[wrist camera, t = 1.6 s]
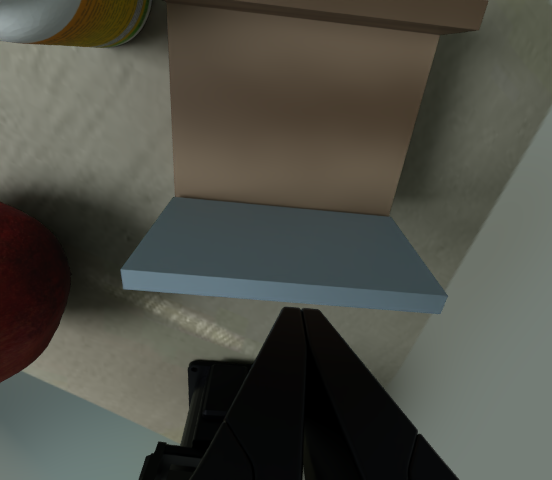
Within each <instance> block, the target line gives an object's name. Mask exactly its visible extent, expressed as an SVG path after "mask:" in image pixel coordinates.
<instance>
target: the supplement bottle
mask: <svg viewBox="0 0 552 480" xmlns="http://www.w3.org/2000/svg"><path fill="white" fill-rule="evenodd" d="M151 3H152V0H0V41H6V42H13V43H23V44H43V45H63V46H80V47H95V48H105V47H115V46H119V45H121V44H124V43H126V42H128V41H129V40H131V39H132V38H134V37H135V36H136V35H137V34H138V33H139V32H140V30H141V29H142V27H143V26H144V24H145V22H146V20H147V18H148V15H149V12H150V9H151Z"/></svg>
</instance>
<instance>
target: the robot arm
mask: <svg viewBox="0 0 552 480" xmlns="http://www.w3.org/2000/svg"><path fill="white" fill-rule="evenodd" d="M194 367H195V368H194ZM188 385H189V412H188V416H187V420H186V424H185V428H184V432H183V436H182V440H181V444H180V446H177V445H169V444H167V443H166V442H158V444H157V447H156V450H155V452H154V453H152V454H151V455H148V456H146V458H145V461H144V465H143V468H142V471H141V474H140V477H139V480H302V474H303V467H304V474H305V480H459V479H458V478H457V477H456V475H455V474H454V473H453V472H452V470H451V469H450V468H449V467H448V466H447V465H446V464H445V462H444V461H443V460H442V459H441V458H440V456H439V455H438V454H437V453H436V452H435V450H434V449H433V448H432V447H431V445H430V444H429V443H428V442H427V441H426V440H425V438H424V437H423V436H422V435H421V434H418V430H417V429H416V427H415V426H414V425H413V424H412V423H411V421H410V420H409V419H408V418H407V416H406V415H405V414H404V413H403V412H402V410H401V409H400V408H399V407H398V405H397V404H396V403H395V402H394V401H393V399H392V398H391V397H390V396H389V394H388V393H387V392H386V391H385V389H384V388H383V387H382V386H381V385H380V383H379V382H378V381H377V380H376V378H375V377H374V376H373V375H372V374H371V372H370V371H369V370H368V369H367V367H366V366H365V365H364V364H363V363H362V361H361V360H360V359H359V358H358V356H357V355H356V354H355V353H354V352H353V350H352V349H351V348H350V347H349V345H348V344H347V343H346V342H345V341H344V339H343V338H342V337H341V336H340V334H339V333H338V332H337V331H336V329H335V328H334V327H333V326H332V325H331V323H330V322H329V321H328V320H327V318H326V317H325V316H324V315H323V314H322V312H321V311H320V310H318V309H309V308H303V309H302V310H301V309H300V308H296V307H283V308H282V310H281V312H280V314H279V316H278V318H277V320H276V321H275V323H274V325H273V327H272V329H271V331H270V333H269V335H268V337H267V338H266V340H265V342H264V344H263V346H262V348H261V350H260V352H259V354H258V356H257V357H256V359H255V361H254V363H253V365H245V364H230V363H216V362H202V361H192V362H190V364H189V367H188ZM417 434H418V435H417Z"/></svg>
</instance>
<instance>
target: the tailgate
mask: <svg viewBox="0 0 552 480" xmlns="http://www.w3.org/2000/svg"><path fill="white" fill-rule="evenodd" d="M121 276H122V283H123V289H128V290H141V291H153V292H166V293H179V294H191V295H204V296H217V297H230V298H242V299H255V300H268V301H280V302H293V303H306V304H319V305H331V306H344V307H357V308H369V309H382V310H395V311H407V312H420V313H433V314H440V313H441V311H442V309H443V306H444V304H445V302H446V299H447V297H448V295H447V294H446V293H445V291H444V290H443V288H442V287H441V286H440V284H439V283H438V281H437V280H436V279H435V277H434V276H433V274H432V273H431V272H430V270H429V269H428V268H427V266H426V265H425V263H424V262H423V261H422V259H421V258H420V256H419V255H418V254H417V252H416V251H415V250H414V248H413V247H412V245H411V244H410V243H409V241H408V240H407V238H406V237H405V236H404V234H403V233H402V231H401V230H400V229H399V227H398V226H397V225H396V223H395V222H394V220H393V219H392V218H391V217H387V216H376V215H365V214H354V213H343V212H333V211H322V210H311V209H300V208H289V207H278V206H268V205H257V204H246V203H235V202H224V201H213V200H203V199H192V198H181V197H173V198H172V199H171V201H170V202H169V204H168V205H167V206H166V208H165V209H164V210H163V212H162V213H161V214H160V216H159V217H158V219H157V220H156V221H155V223H154V224H153V225H152V227H151V228H150V230H149V231H148V232H147V234H146V235H145V236H144V238H143V239H142V241H141V242H140V243H139V245H138V246H137V247H136V249H135V250H134V252H133V253H132V254H131V256H130V257H129V258H128V260H127V261H126V263H125V264H124V265H123V267H122V268H121Z"/></svg>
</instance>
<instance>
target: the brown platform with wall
mask: <svg viewBox="0 0 552 480" xmlns="http://www.w3.org/2000/svg"><path fill="white" fill-rule="evenodd" d="M163 1H165V2H166V3H167V26H168V48H169V71H170V94H171V116H172V139H173V161H174V184H175V197H181V198H192V199H203V200H213V201H224V202H235V203H246V204H257V205H268V206H278V207H289V208H300V209H311V210H322V211H333V212H343V213H354V214H365V215H376V216H387V217H389V214H390V210H391V207H392V203H393V200H394V196H395V192H396V189H397V185H398V182H399V178H400V175H401V171H402V168H403V164H404V161H405V157H406V154H407V150H408V147H409V143H410V140H411V136H412V132H413V129H414V125H415V122H416V118H417V115H418V111H419V108H420V104H421V101H422V97H423V94H424V90H425V87H426V83H427V79H428V76H429V72H430V69H431V65H432V62H433V58H434V55H435V51H436V48H437V44H438V41H439V37H440V35H445V34H453V33H461V32H468V31H476V30H479V29H480V26H481V23H482V19H483V16H484V13H485V10H486V7H487V4H488V1H487V0H163Z"/></svg>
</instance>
